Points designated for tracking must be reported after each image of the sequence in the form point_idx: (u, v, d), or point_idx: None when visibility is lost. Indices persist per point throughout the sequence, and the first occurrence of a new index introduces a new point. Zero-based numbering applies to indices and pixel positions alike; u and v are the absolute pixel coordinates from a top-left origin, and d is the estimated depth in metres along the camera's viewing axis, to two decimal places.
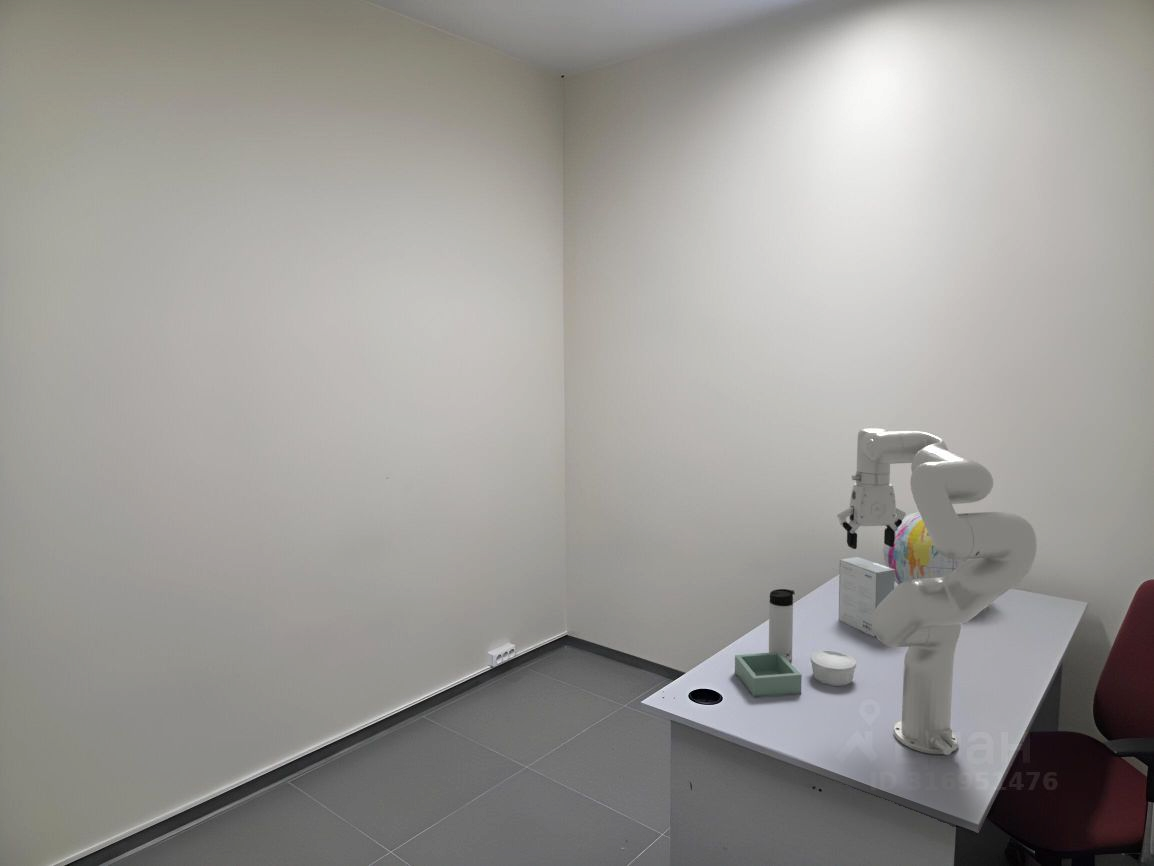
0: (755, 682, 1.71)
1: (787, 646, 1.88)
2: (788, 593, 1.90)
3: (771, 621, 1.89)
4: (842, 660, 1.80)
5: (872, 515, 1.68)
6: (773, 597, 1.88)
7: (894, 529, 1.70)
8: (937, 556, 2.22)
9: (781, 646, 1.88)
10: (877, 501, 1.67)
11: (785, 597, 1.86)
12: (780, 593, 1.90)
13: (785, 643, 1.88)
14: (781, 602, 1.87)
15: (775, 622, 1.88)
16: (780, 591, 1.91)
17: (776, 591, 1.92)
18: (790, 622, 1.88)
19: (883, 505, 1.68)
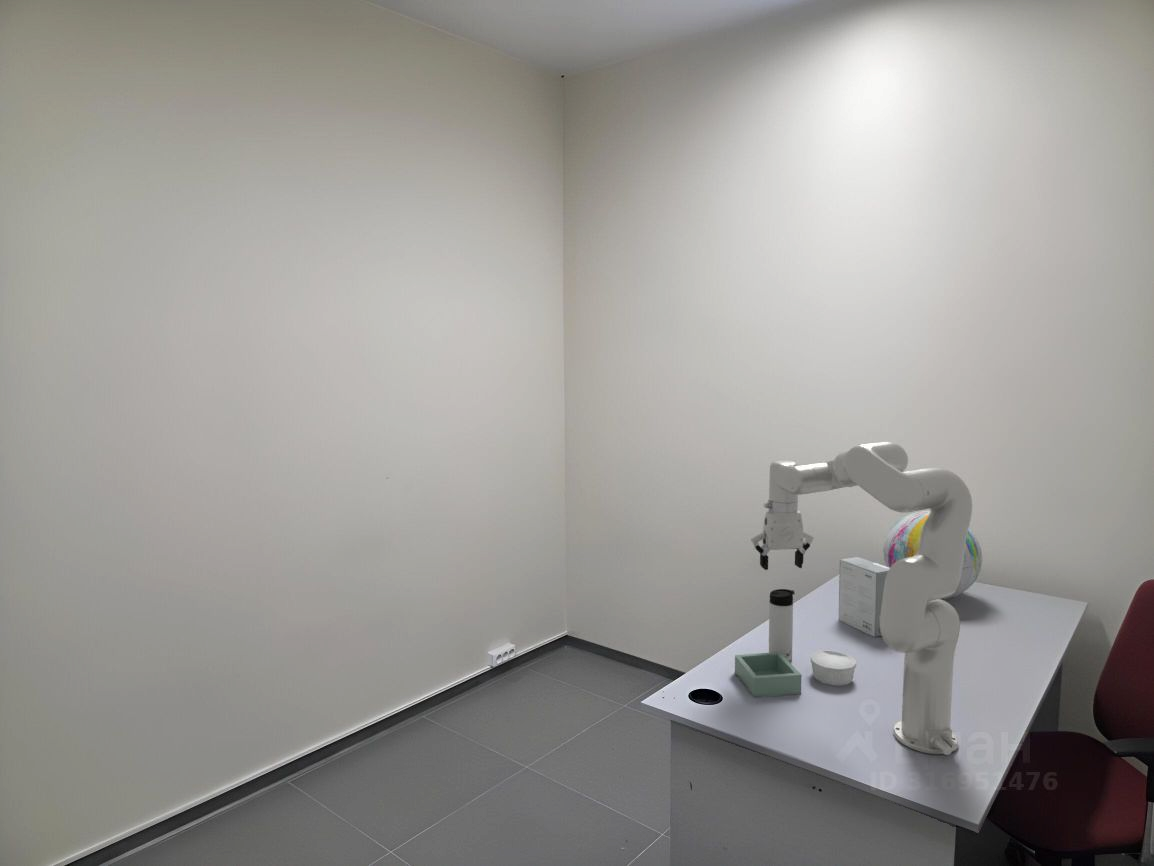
0: (755, 682, 1.71)
1: (787, 646, 1.88)
2: (788, 593, 1.90)
3: (771, 621, 1.89)
4: (842, 660, 1.80)
5: (781, 540, 1.85)
6: (773, 597, 1.88)
7: (802, 552, 1.88)
8: None
9: (781, 646, 1.88)
10: (786, 527, 1.85)
11: (785, 597, 1.86)
12: (780, 593, 1.90)
13: (785, 643, 1.88)
14: (781, 602, 1.87)
15: (775, 622, 1.88)
16: (780, 591, 1.91)
17: (776, 591, 1.92)
18: (790, 622, 1.88)
19: (792, 531, 1.85)
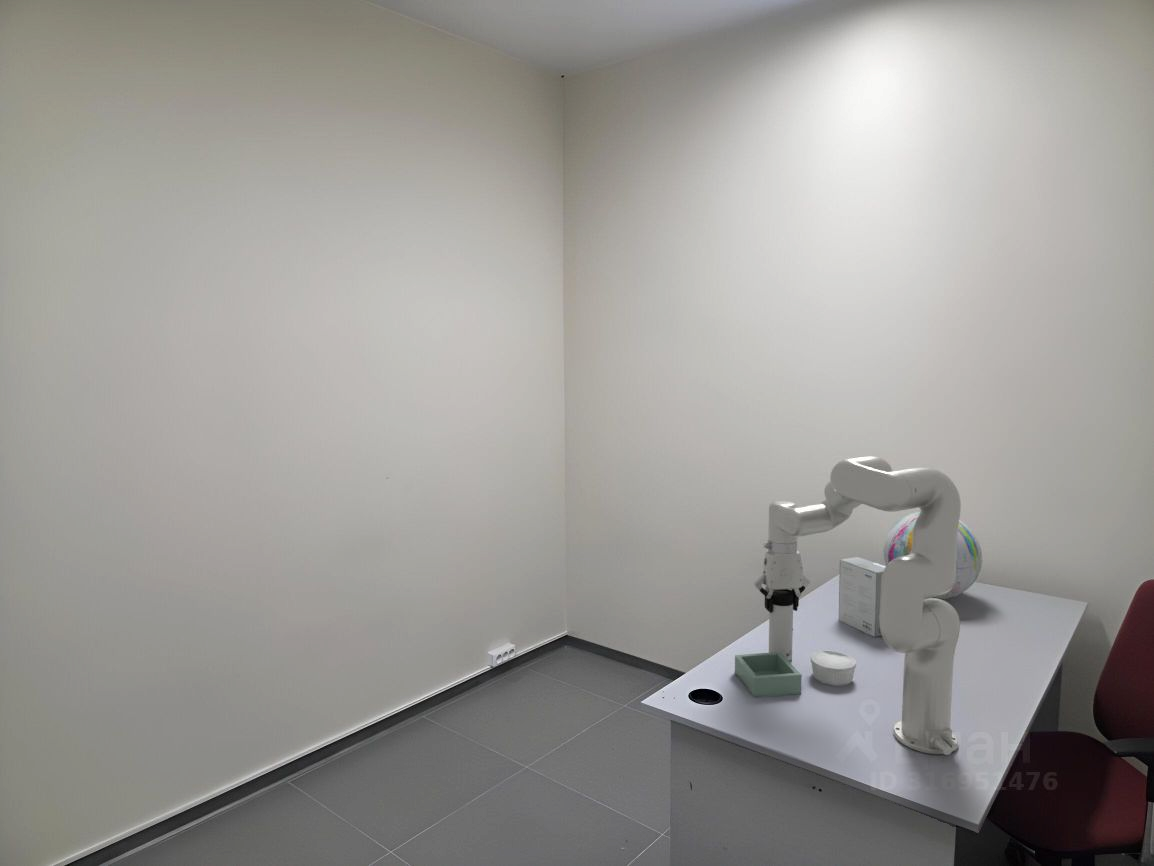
0: (755, 682, 1.71)
1: (787, 646, 1.88)
2: (788, 593, 1.90)
3: (771, 621, 1.89)
4: (842, 660, 1.80)
5: (781, 580, 1.86)
6: (773, 597, 1.88)
7: (798, 595, 1.89)
8: None
9: (781, 646, 1.88)
10: (785, 567, 1.86)
11: (785, 597, 1.86)
12: (780, 593, 1.90)
13: (785, 643, 1.88)
14: (781, 602, 1.87)
15: (775, 622, 1.88)
16: (780, 591, 1.91)
17: (776, 591, 1.92)
18: (790, 622, 1.88)
19: (791, 571, 1.86)
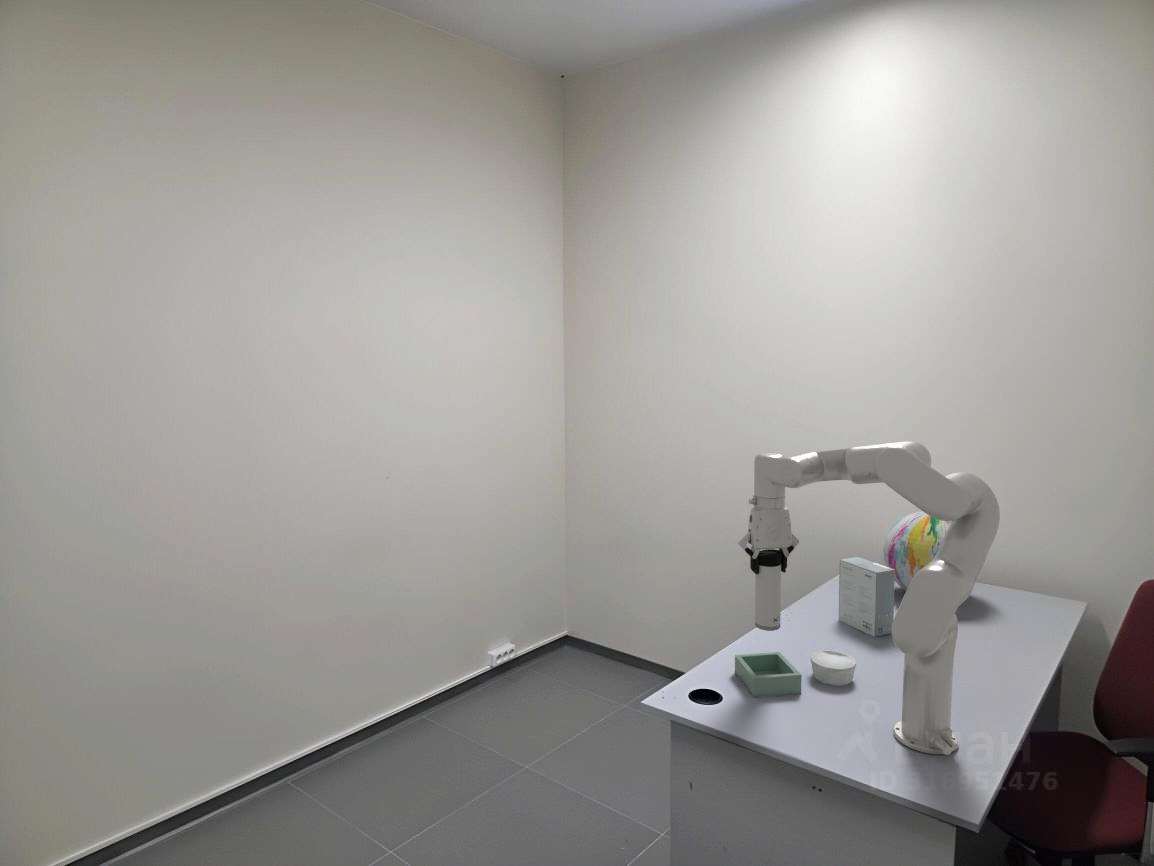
0: (755, 682, 1.71)
1: (774, 611, 1.73)
2: (776, 553, 1.75)
3: (757, 583, 1.75)
4: (842, 660, 1.80)
5: (768, 538, 1.71)
6: (759, 557, 1.73)
7: (786, 555, 1.74)
8: None
9: (768, 610, 1.73)
10: (772, 524, 1.71)
11: (772, 557, 1.72)
12: (767, 554, 1.75)
13: (773, 607, 1.73)
14: (768, 562, 1.72)
15: (762, 585, 1.73)
16: (767, 551, 1.77)
17: (763, 551, 1.77)
18: (778, 584, 1.73)
19: (779, 528, 1.71)
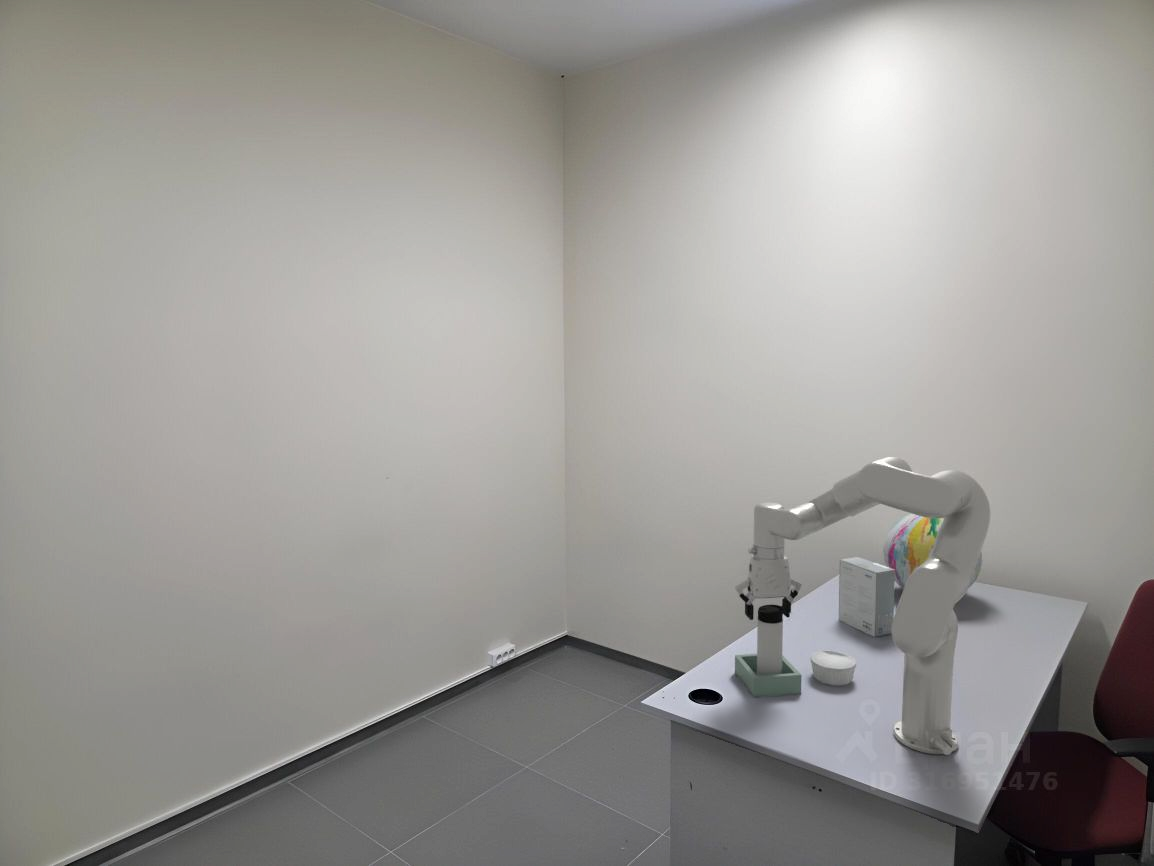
0: (755, 682, 1.71)
1: (776, 666, 1.75)
2: (777, 609, 1.76)
3: (759, 639, 1.76)
4: (842, 660, 1.80)
5: (767, 588, 1.73)
6: (761, 614, 1.75)
7: (790, 600, 1.76)
8: None
9: (770, 666, 1.75)
10: (772, 574, 1.73)
11: (774, 614, 1.73)
12: (769, 610, 1.76)
13: (774, 663, 1.75)
14: (770, 619, 1.74)
15: (763, 641, 1.75)
16: (769, 607, 1.78)
17: (765, 607, 1.78)
18: (780, 640, 1.75)
19: (778, 578, 1.73)
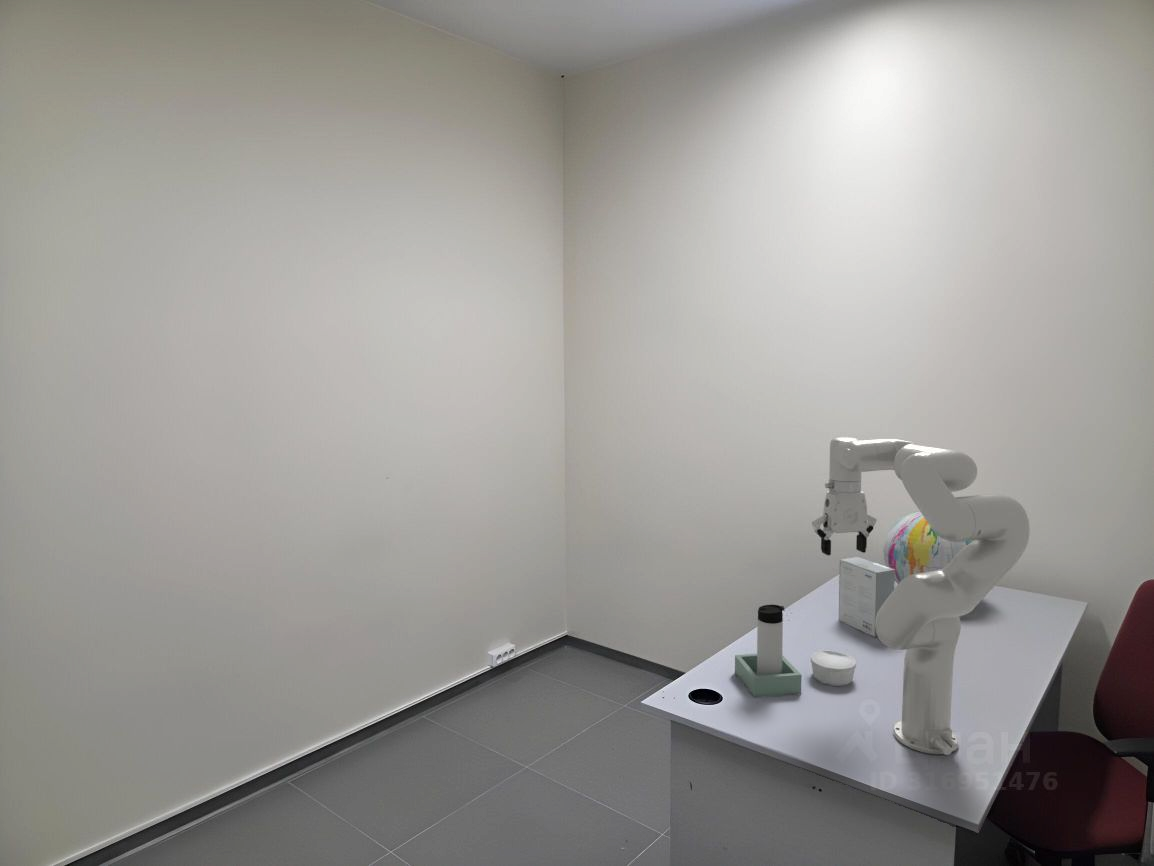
0: (755, 682, 1.71)
1: (776, 666, 1.75)
2: (777, 609, 1.76)
3: (759, 639, 1.76)
4: (842, 660, 1.80)
5: (845, 522, 1.72)
6: (761, 613, 1.75)
7: (866, 535, 1.75)
8: (937, 556, 2.22)
9: (770, 666, 1.75)
10: (850, 508, 1.72)
11: (774, 614, 1.73)
12: (769, 610, 1.76)
13: (774, 663, 1.75)
14: (770, 619, 1.74)
15: (763, 641, 1.75)
16: (769, 607, 1.78)
17: (765, 607, 1.78)
18: (780, 640, 1.75)
19: (856, 512, 1.72)
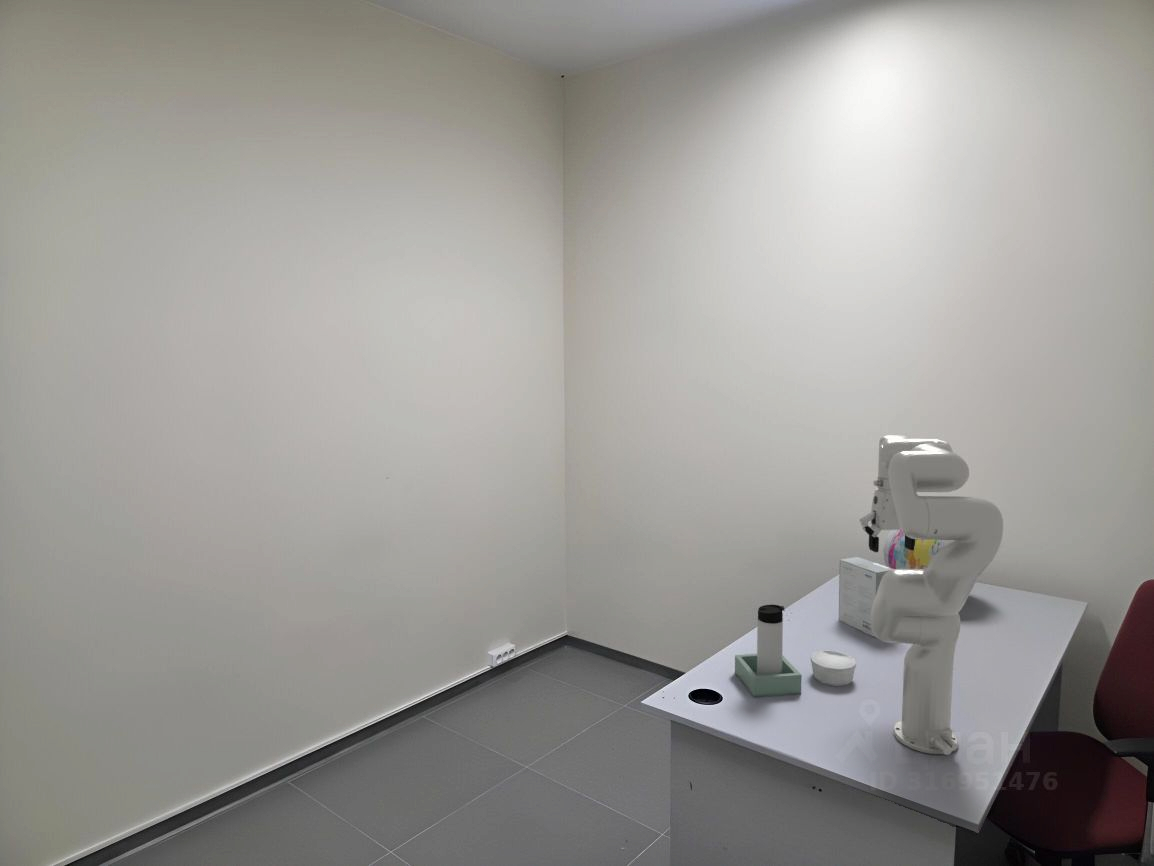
0: (755, 682, 1.71)
1: (776, 666, 1.75)
2: (777, 609, 1.76)
3: (759, 639, 1.76)
4: (842, 660, 1.80)
5: (893, 519, 1.73)
6: (761, 614, 1.75)
7: None
8: None
9: (770, 666, 1.75)
10: None
11: (774, 614, 1.73)
12: (769, 610, 1.76)
13: (774, 663, 1.75)
14: (770, 619, 1.74)
15: (763, 641, 1.75)
16: (769, 607, 1.78)
17: (765, 607, 1.78)
18: (780, 640, 1.75)
19: None
